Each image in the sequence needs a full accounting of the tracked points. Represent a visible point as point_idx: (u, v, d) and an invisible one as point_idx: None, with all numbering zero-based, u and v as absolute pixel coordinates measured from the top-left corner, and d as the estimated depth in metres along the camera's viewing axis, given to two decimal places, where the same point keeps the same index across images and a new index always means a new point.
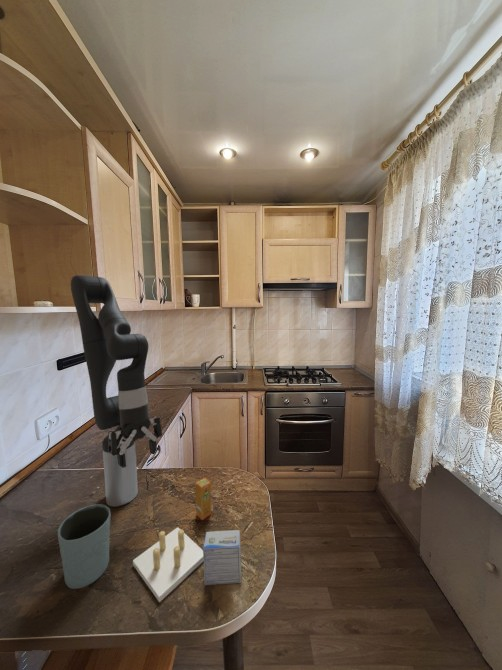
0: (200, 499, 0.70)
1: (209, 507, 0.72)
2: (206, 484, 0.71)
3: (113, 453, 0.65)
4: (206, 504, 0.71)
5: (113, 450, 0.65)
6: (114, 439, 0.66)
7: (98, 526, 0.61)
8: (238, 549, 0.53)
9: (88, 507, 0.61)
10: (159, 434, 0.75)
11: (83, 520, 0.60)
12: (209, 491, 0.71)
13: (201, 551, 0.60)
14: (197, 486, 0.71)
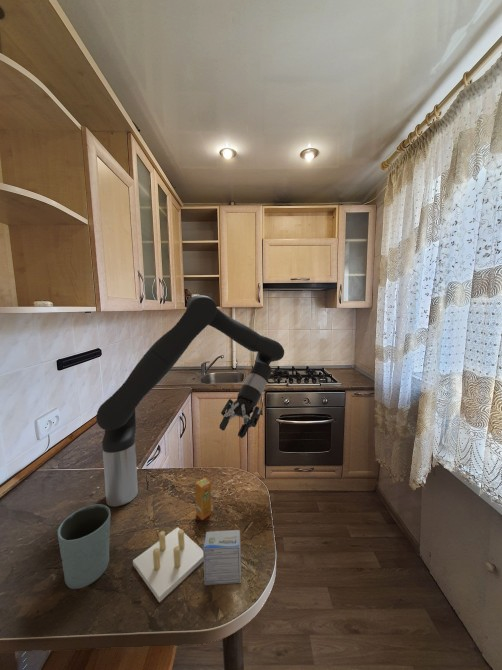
0: (200, 499, 0.70)
1: (209, 507, 0.72)
2: (206, 484, 0.71)
3: None
4: (206, 504, 0.71)
5: None
6: None
7: (98, 526, 0.61)
8: (238, 549, 0.53)
9: (88, 507, 0.61)
10: None
11: (82, 520, 0.60)
12: (209, 491, 0.71)
13: (201, 551, 0.60)
14: (197, 486, 0.71)
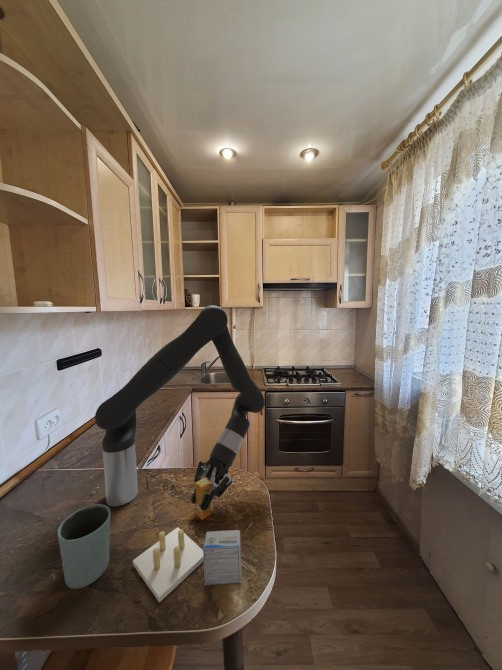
0: (200, 499, 0.70)
1: (209, 507, 0.72)
2: (205, 484, 0.71)
3: None
4: None
5: None
6: None
7: (98, 526, 0.61)
8: (238, 549, 0.53)
9: (88, 507, 0.61)
10: None
11: (82, 520, 0.60)
12: None
13: (201, 551, 0.60)
14: (197, 486, 0.71)
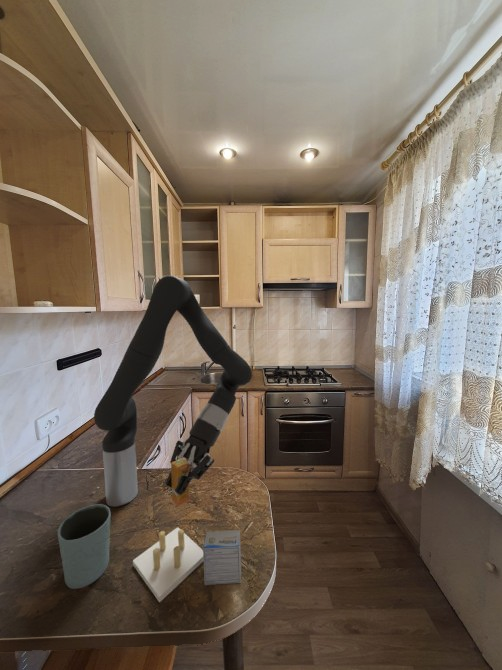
0: (176, 482, 0.60)
1: (187, 491, 0.62)
2: (183, 464, 0.61)
3: None
4: None
5: None
6: None
7: (98, 526, 0.61)
8: (238, 549, 0.53)
9: (88, 507, 0.61)
10: None
11: (82, 520, 0.60)
12: None
13: (201, 551, 0.60)
14: (173, 466, 0.61)
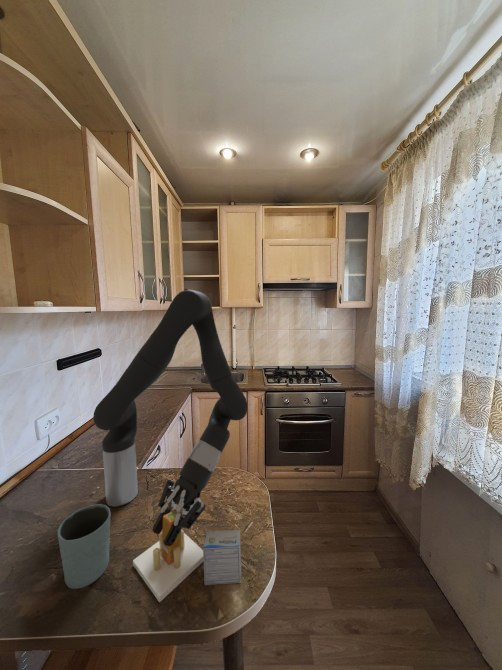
0: None
1: None
2: None
3: None
4: (174, 543, 0.57)
5: None
6: None
7: (98, 526, 0.61)
8: (238, 549, 0.53)
9: (88, 507, 0.61)
10: None
11: (82, 520, 0.60)
12: None
13: (201, 551, 0.60)
14: (165, 521, 0.57)
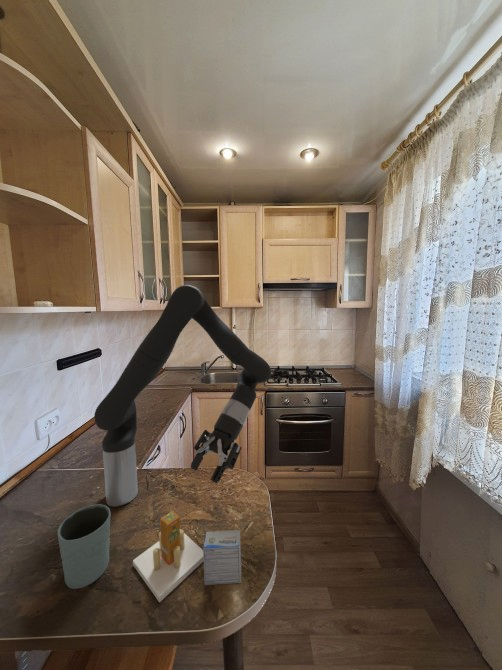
0: (166, 540, 0.56)
1: None
2: (173, 519, 0.57)
3: None
4: (173, 544, 0.57)
5: None
6: None
7: (98, 526, 0.61)
8: (238, 549, 0.53)
9: (88, 507, 0.61)
10: None
11: (82, 520, 0.60)
12: (178, 528, 0.58)
13: (201, 551, 0.60)
14: (162, 523, 0.57)
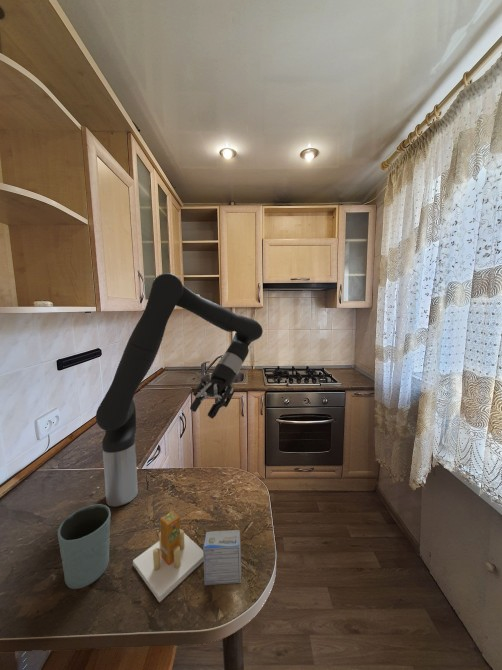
0: (166, 540, 0.56)
1: None
2: (173, 519, 0.57)
3: None
4: (173, 544, 0.57)
5: None
6: None
7: (98, 526, 0.61)
8: (238, 549, 0.53)
9: (88, 507, 0.61)
10: None
11: (82, 520, 0.60)
12: (178, 528, 0.58)
13: (201, 551, 0.60)
14: (162, 523, 0.57)
